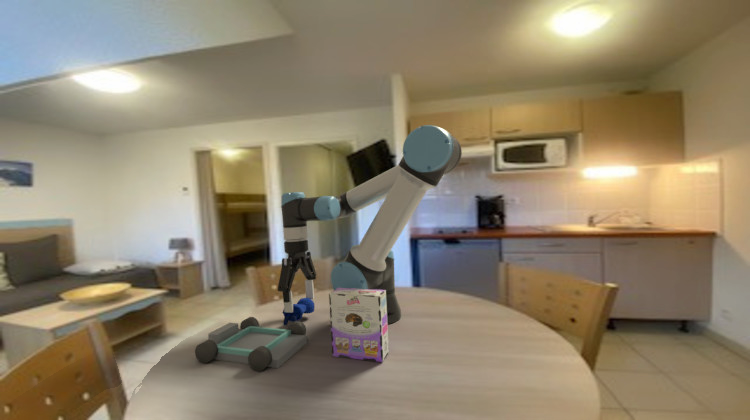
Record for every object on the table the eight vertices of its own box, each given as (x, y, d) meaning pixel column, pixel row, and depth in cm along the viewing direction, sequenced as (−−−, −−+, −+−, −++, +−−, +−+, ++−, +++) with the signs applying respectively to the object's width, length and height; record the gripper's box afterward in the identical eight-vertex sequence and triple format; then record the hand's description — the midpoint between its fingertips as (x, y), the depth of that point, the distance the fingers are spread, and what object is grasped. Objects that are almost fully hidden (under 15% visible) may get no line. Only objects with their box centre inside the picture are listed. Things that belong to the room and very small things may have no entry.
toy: (300, 327, 98) (318, 308, 112) (299, 307, 97) (317, 291, 112) (279, 327, 99) (300, 308, 114) (278, 307, 99) (298, 291, 113)
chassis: (311, 339, 93) (310, 321, 93) (271, 373, 75) (270, 352, 75) (241, 331, 100) (241, 315, 100) (190, 361, 83) (189, 342, 82)
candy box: (389, 352, 84) (387, 289, 83) (382, 363, 78) (380, 295, 77) (340, 346, 88) (338, 286, 87) (331, 356, 82) (328, 292, 82)
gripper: (304, 235, 118) (308, 293, 119) (262, 245, 95) (267, 318, 95) (323, 235, 116) (327, 294, 117) (284, 245, 92) (289, 319, 93)
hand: (300, 305), depth 106 cm, fingers closed on toy, 13 cm apart
